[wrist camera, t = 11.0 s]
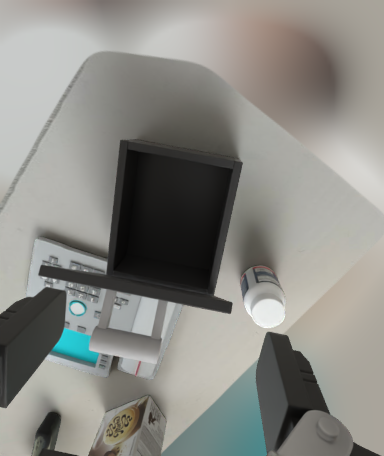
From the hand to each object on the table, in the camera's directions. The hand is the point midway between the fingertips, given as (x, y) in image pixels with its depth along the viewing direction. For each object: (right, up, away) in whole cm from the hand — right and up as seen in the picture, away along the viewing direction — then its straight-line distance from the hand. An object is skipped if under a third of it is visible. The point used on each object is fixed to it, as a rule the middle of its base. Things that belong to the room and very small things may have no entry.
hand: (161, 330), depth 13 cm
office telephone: (-13, -10, +37) cm, 41 cm away
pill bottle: (+11, -4, +34) cm, 36 cm away
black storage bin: (-1, +6, +32) cm, 32 cm away
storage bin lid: (-3, -1, +18) cm, 19 cm away
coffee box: (-8, -28, +42) cm, 52 cm away
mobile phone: (-25, -35, +46) cm, 62 cm away
